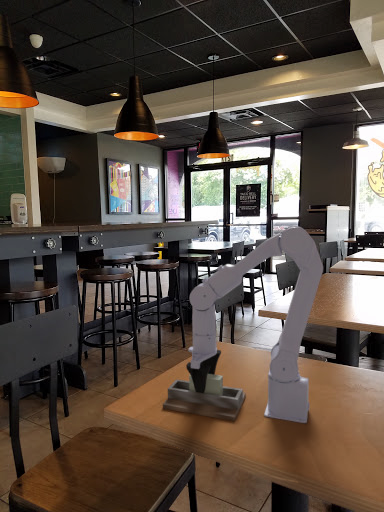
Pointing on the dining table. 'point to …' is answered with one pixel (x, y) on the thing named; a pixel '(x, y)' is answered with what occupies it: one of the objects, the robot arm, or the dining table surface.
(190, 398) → the grey metal tray
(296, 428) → the dining table surface
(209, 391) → the panel
